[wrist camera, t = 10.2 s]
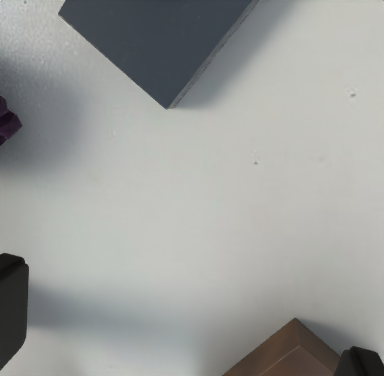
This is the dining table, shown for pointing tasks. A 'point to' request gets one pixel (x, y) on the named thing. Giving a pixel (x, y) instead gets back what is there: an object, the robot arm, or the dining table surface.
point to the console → (289, 355)
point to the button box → (158, 38)
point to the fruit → (7, 122)
